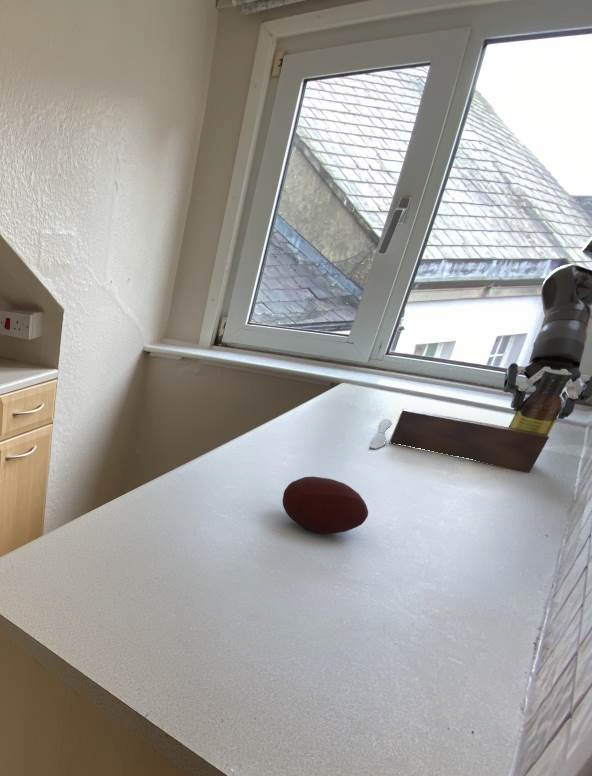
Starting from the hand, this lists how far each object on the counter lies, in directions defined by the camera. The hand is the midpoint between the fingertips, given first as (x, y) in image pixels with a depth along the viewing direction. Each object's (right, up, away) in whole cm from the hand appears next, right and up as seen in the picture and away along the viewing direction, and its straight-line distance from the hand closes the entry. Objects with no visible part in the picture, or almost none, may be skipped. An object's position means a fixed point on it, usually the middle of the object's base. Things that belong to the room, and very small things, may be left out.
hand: (539, 412), depth 114 cm
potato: (-62, -22, -23) cm, 70 cm away
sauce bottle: (+1, -10, +6) cm, 12 cm away
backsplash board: (-11, -9, +7) cm, 16 cm away
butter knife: (-19, -3, +18) cm, 26 cm away
